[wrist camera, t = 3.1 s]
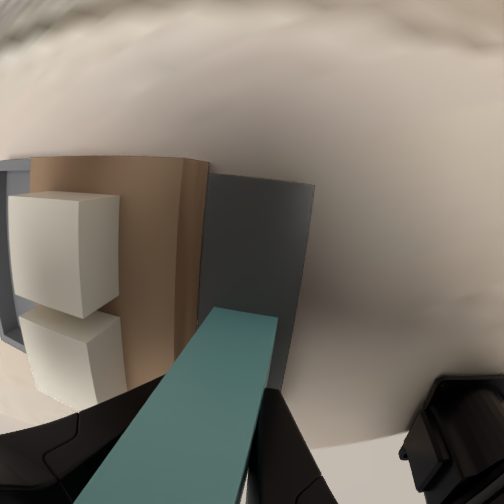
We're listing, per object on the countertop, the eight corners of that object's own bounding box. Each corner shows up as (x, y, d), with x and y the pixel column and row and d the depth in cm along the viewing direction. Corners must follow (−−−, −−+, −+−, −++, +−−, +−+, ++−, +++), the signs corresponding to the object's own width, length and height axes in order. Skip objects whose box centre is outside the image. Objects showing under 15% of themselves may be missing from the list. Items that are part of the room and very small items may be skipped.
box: (66, 158, 14) (41, 158, 12) (75, 354, 17) (57, 368, 15) (7, 161, 15) (-15, 162, 13) (18, 329, 18) (1, 339, 16)
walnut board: (209, 162, 13) (183, 157, 10) (194, 392, 16) (176, 426, 13) (70, 158, 14) (31, 157, 11) (78, 355, 17) (51, 378, 14)
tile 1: (119, 195, 11) (78, 201, 9) (119, 295, 12) (83, 318, 10) (49, 190, 12) (8, 196, 9) (51, 277, 13) (14, 294, 10)
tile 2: (120, 317, 12) (86, 343, 10) (127, 390, 13) (101, 421, 11) (53, 297, 13) (18, 316, 10) (64, 366, 14) (36, 389, 11)
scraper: (312, 184, 10) (422, 221, 1) (270, 432, 13) (225, 628, 3) (225, 174, 11) (-91, 183, 1) (207, 420, 13) (125, 600, 4)
